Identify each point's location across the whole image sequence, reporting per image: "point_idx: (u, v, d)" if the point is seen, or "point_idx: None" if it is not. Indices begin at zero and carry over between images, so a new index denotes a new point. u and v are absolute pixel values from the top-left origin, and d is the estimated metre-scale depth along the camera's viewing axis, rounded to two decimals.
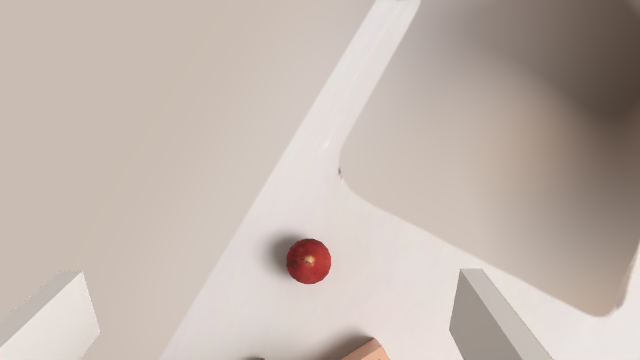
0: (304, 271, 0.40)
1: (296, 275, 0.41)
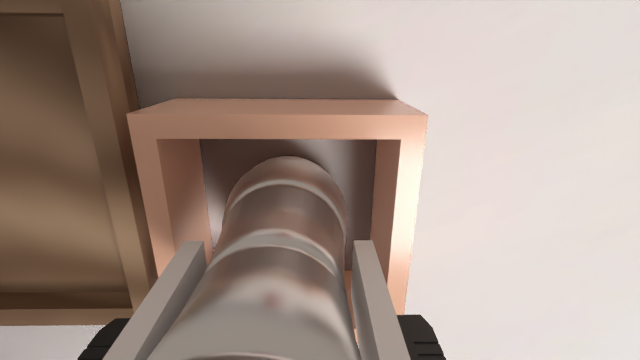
0: None
1: None
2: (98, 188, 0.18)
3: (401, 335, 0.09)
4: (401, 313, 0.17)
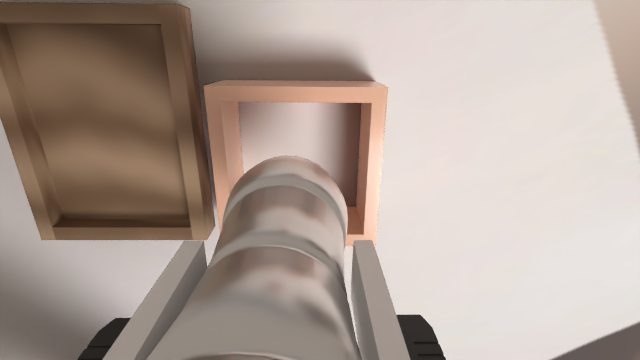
0: None
1: None
2: (169, 142, 0.27)
3: (401, 335, 0.09)
4: (375, 223, 0.25)
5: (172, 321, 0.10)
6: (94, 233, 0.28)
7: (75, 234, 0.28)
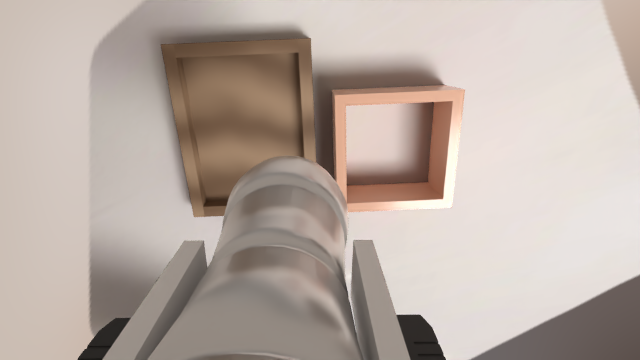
0: None
1: None
2: (291, 138, 0.36)
3: (401, 335, 0.09)
4: (452, 190, 0.34)
5: (172, 321, 0.10)
6: None
7: (219, 211, 0.37)
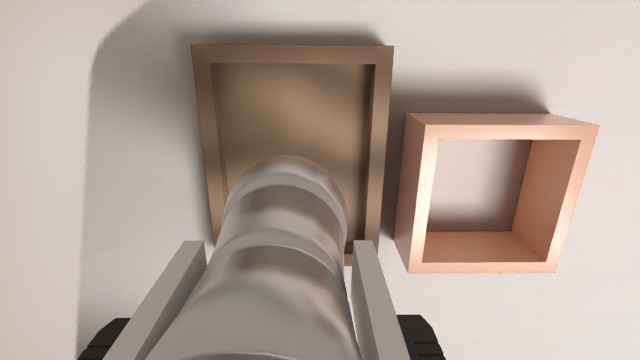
0: None
1: None
2: (349, 172, 0.28)
3: (401, 335, 0.09)
4: (559, 251, 0.26)
5: (172, 321, 0.10)
6: None
7: None
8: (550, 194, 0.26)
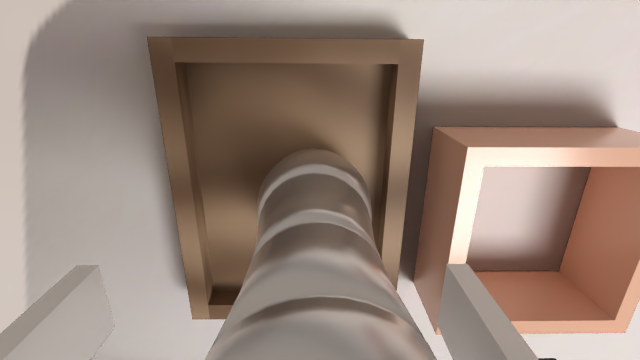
0: None
1: None
2: None
3: None
4: (634, 307, 0.20)
5: None
6: None
7: None
8: (622, 233, 0.20)
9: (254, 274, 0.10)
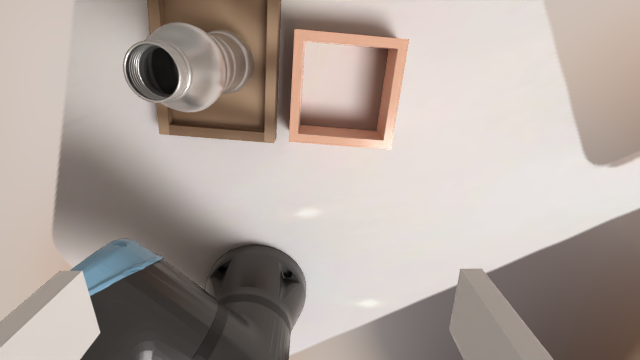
0: None
1: None
2: (256, 71, 0.40)
3: None
4: (392, 133, 0.38)
5: None
6: (197, 131, 0.41)
7: (183, 131, 0.41)
8: (388, 93, 0.38)
9: None
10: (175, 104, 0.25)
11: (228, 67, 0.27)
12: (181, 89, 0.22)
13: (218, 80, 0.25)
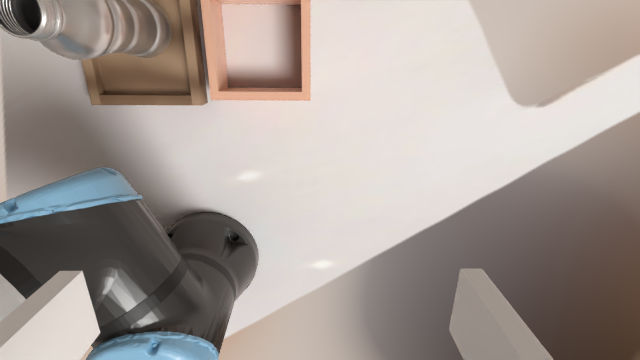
0: None
1: None
2: (177, 36, 0.41)
3: None
4: (309, 83, 0.40)
5: None
6: (126, 99, 0.42)
7: (114, 100, 0.42)
8: None
9: None
10: (59, 47, 0.26)
11: (118, 16, 0.29)
12: (48, 24, 0.23)
13: (100, 23, 0.27)
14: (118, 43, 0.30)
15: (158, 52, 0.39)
